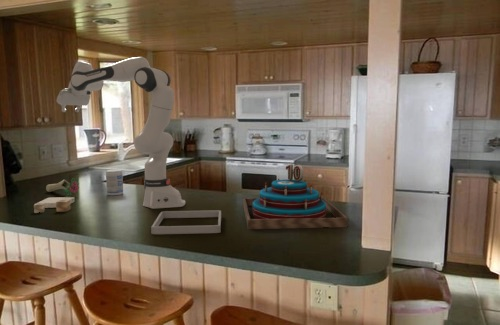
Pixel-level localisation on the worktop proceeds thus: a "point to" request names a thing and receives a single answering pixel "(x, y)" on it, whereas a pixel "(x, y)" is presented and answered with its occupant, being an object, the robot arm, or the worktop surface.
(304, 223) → the walnut cake board rim
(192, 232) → the grey tray rim
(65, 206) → the oak block
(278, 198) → the birthday cake
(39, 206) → the maple block
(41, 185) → the worktop surface
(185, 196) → the worktop surface
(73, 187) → the flower vase
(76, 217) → the worktop surface
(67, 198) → the plate
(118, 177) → the supplement tub
